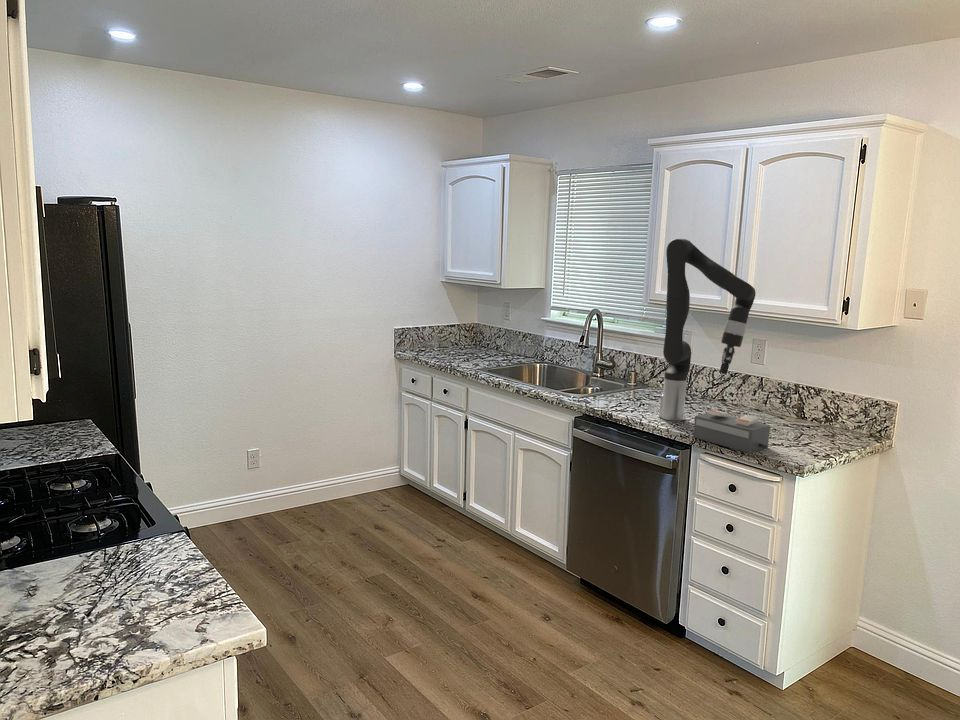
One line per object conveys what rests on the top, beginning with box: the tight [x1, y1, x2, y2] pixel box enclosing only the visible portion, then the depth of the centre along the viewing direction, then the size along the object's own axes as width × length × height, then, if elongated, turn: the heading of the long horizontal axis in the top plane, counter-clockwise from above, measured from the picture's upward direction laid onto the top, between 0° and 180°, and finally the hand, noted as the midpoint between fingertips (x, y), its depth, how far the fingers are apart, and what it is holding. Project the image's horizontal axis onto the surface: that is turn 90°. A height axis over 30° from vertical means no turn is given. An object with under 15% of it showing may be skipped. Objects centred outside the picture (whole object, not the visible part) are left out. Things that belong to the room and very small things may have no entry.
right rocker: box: [735, 414, 759, 426], centre depth 264 cm, size 5×7×1 cm
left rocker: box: [706, 409, 730, 417], centre depth 274 cm, size 5×7×1 cm
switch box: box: [692, 412, 771, 454], centre depth 269 cm, size 27×12×8 cm, turn 39°
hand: (722, 373), depth 282 cm, fingers open, 8 cm apart
